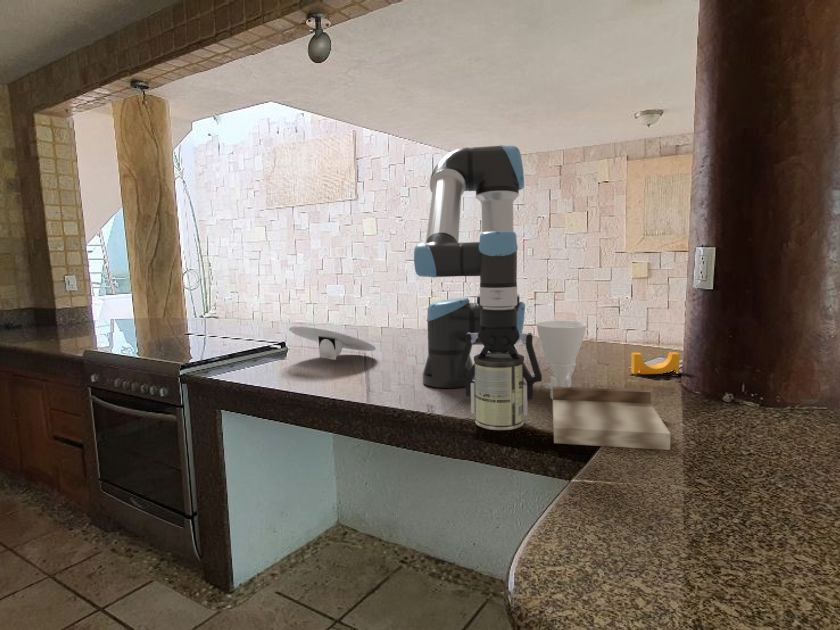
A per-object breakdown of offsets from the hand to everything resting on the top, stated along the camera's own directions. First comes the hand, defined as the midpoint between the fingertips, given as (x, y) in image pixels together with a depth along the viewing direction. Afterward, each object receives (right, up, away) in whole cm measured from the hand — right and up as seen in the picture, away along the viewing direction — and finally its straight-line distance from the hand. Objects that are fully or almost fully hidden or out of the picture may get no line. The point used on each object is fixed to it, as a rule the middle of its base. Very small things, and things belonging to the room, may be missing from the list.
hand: (499, 412), depth 110 cm
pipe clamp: (+49, +3, +37) cm, 62 cm away
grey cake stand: (-54, +9, +60) cm, 82 cm away
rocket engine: (+18, 0, +17) cm, 25 cm away
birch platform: (+20, -2, -5) cm, 21 cm away
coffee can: (0, -2, 0) cm, 2 cm away
